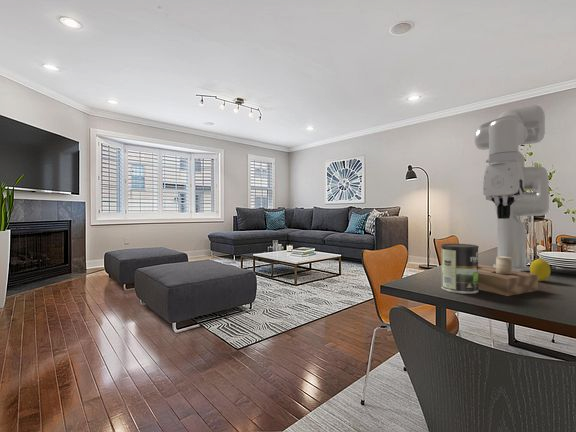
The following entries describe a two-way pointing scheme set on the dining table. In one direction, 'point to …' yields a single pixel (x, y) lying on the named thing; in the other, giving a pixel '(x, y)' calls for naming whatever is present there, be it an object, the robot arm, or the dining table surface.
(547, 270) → the lemon
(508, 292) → the mortise block
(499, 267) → the dowel
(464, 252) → the coffee can
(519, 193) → the robot arm
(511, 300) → the dining table surface
